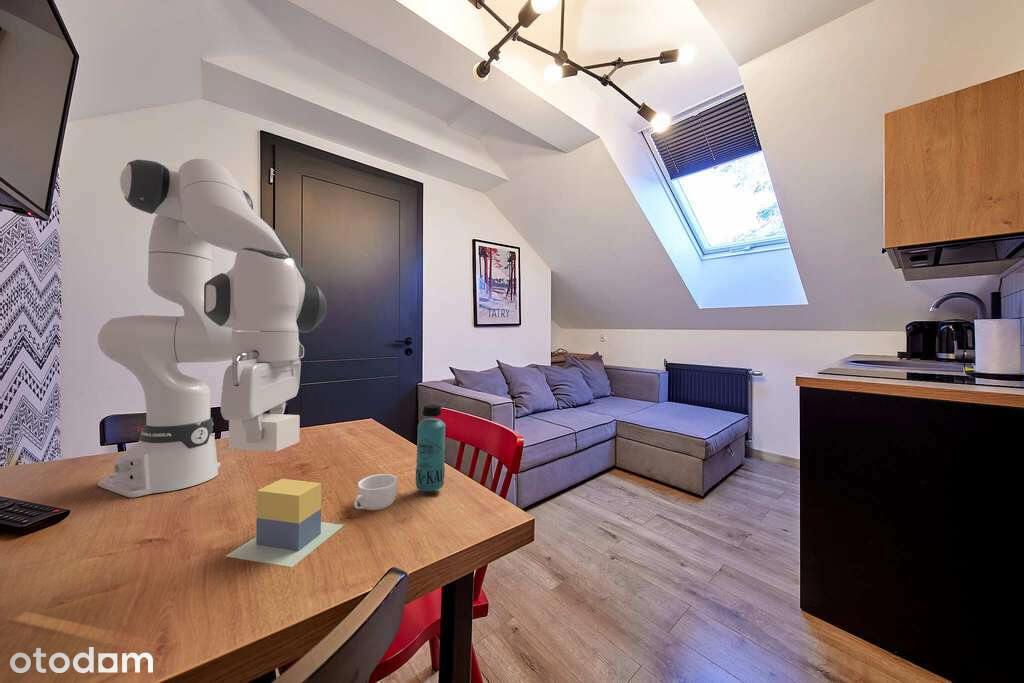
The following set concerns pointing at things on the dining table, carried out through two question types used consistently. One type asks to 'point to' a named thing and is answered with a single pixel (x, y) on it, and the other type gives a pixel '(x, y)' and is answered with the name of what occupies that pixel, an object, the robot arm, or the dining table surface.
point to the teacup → (376, 492)
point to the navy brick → (288, 532)
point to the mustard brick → (289, 500)
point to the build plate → (282, 555)
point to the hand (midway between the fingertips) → (265, 435)
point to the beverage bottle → (430, 451)
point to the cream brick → (267, 433)
